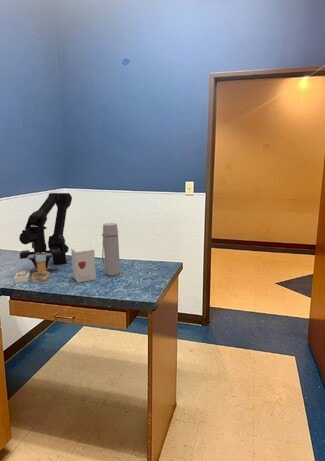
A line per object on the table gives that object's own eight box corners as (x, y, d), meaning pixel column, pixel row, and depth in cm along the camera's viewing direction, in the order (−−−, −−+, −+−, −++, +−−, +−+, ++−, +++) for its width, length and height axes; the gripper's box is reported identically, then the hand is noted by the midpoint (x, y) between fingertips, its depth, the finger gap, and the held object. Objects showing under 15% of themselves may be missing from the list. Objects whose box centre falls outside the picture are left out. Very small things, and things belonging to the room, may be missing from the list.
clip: (30, 275, 164) (29, 271, 164) (28, 281, 157) (27, 276, 156) (17, 277, 163) (16, 272, 162) (14, 282, 155) (14, 277, 155)
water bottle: (123, 272, 167) (120, 223, 161) (114, 277, 160) (111, 226, 154) (108, 269, 170) (105, 222, 165) (99, 274, 163) (95, 225, 158)
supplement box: (77, 283, 153) (74, 252, 150) (73, 277, 161) (70, 247, 158) (96, 279, 157) (94, 249, 154) (91, 274, 165) (89, 244, 162)
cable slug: (27, 277, 163) (26, 270, 162) (25, 280, 158) (25, 273, 157) (20, 278, 162) (19, 271, 161) (19, 281, 157) (18, 274, 157)
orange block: (46, 270, 172) (45, 260, 171) (46, 272, 168) (45, 263, 167) (38, 270, 171) (37, 261, 170) (37, 273, 167) (36, 264, 166)
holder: (49, 275, 165) (49, 271, 164) (48, 280, 157) (47, 276, 157) (33, 276, 163) (32, 273, 162) (31, 282, 155) (30, 278, 155)
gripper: (58, 234, 176) (61, 262, 179) (21, 237, 171) (24, 266, 175) (58, 239, 166) (61, 269, 169) (18, 242, 161) (21, 273, 164)
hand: (42, 269), depth 170 cm, fingers closed on orange block, 4 cm apart
